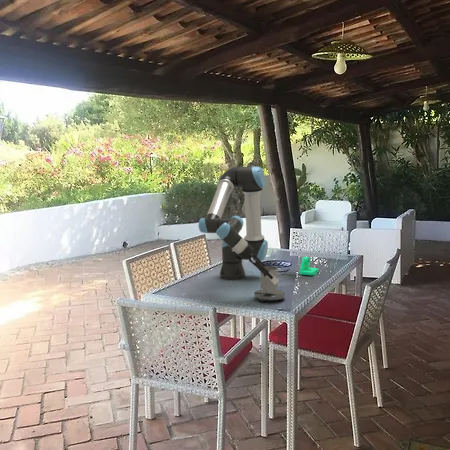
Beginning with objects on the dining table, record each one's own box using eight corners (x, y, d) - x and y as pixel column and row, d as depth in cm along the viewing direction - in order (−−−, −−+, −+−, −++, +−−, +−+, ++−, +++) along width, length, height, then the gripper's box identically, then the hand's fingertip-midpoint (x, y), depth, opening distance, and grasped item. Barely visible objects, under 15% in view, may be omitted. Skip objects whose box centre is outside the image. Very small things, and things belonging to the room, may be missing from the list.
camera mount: (311, 277, 286) (311, 259, 285) (299, 275, 290) (299, 258, 289) (319, 272, 296) (319, 256, 295) (307, 271, 300) (307, 254, 299)
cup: (264, 290, 237) (264, 270, 236) (258, 286, 245) (258, 266, 244) (280, 289, 240) (280, 269, 238) (274, 285, 248) (274, 265, 246)
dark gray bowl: (251, 302, 238) (251, 296, 238) (257, 294, 253) (257, 288, 252) (282, 304, 234) (282, 298, 234) (286, 295, 249) (286, 289, 248)
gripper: (236, 250, 251) (268, 280, 253) (238, 258, 230) (272, 291, 232) (247, 239, 250) (278, 270, 252) (249, 247, 229) (284, 280, 231)
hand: (275, 280), depth 242 cm, fingers closed on cup, 8 cm apart
